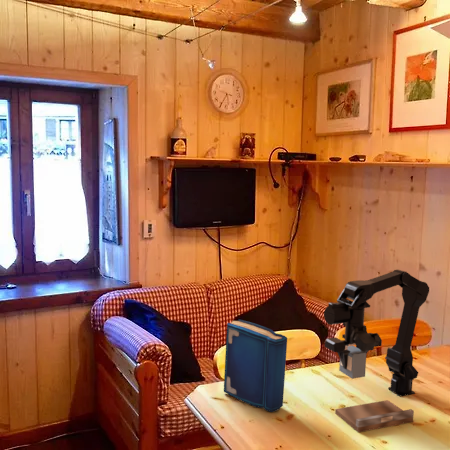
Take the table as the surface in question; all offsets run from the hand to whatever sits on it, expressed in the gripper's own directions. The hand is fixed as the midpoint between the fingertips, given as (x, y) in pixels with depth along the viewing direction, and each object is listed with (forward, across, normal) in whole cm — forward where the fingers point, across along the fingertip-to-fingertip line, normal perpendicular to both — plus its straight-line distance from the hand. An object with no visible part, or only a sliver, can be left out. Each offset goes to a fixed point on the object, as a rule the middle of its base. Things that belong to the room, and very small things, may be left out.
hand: (352, 367), depth 169 cm
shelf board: (+12, 0, -11) cm, 16 cm away
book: (+12, -30, +12) cm, 34 cm away
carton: (+2, 0, 0) cm, 2 cm away
